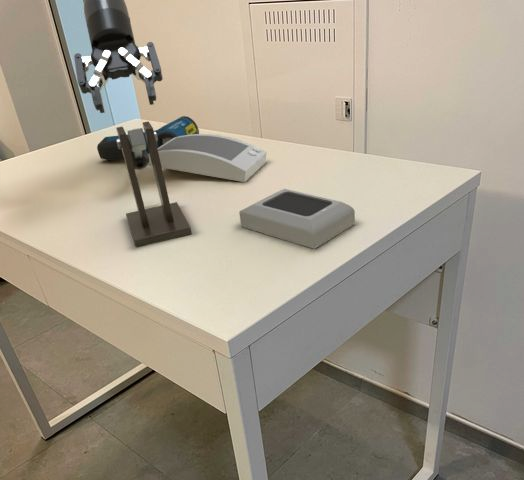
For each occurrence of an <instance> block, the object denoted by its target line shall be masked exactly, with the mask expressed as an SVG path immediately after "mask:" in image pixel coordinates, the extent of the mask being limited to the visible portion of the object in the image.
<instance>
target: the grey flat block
mask: <svg viewBox="0 0 524 480" xmlns="http://www.w3.org/2000/svg"><path fill="white" fill-rule="evenodd" d="M238 213H239V220H240V226H241V228H244V229H247V230H250V231H254V232H257V233H260V234H264V235H267V236H271V237H274V238H276V239H280V240H283V241H288V242H290V243H293V244H297V245H300V246H304V247H307V248H309V249H313V250H316V249H317V248H319V247H321V246H322V245H324V244H325V243H328V241H330V240H332V239H333V238H335V237H337V236H338V235H340V234H342V233H343V232H344V231H346V230H348V229H349V228H351V227H353V226H354V225H356V211H355V209H354V208H353V207H352V206H351V205H350V204H347V203H345V202H343V201H340V200H336V199H331V198H327V197H322V196H319V195H314V194H310V193H304V192H301V191H296V190H291V189H286V188H283V189H280V190H278V191H277V192H273V194H270V195H268V196H266V197H265V198H262V199H260V200H258V201H257V202H254V203H253V204H251V205H249V206H247V207H245V208H242V209H241V210H239V212H238Z"/></svg>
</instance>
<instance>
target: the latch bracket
mask: <svg viewBox="0 0 524 480" xmlns="http://www.w3.org/2000/svg"><path fill="white" fill-rule="evenodd" d="M142 129H143V132H145V136H146V141H147V145H148V149H149V153H150V158H151V162H152V166H151V167H152V170H153V174H154V178H155V179H154V180H155V184H156V186H157V187H156V188H157V191H158V196H159V201H160V204H161V205H158V206H157V205H156V206H153V207H148V208H145V203H144V199H143V196H142V192H141V188H140V184H139V179H138V176H137V171H136V169H135V168H134V164H133V160H132V156H131V152H130V148H129V144H128V140H127V136H126V135H127V133H126V130H125V128H124V126H118V127H116V133H117V136H118V137H119V139H116V141H117V145H118V148H119V149H121V148H122V152H123V156H124V159H123V161H124V163H125V167H126V170H127V175H128V178H129V182H130V187H131V189H132V195H133V197H134V201H135V205H136V209H137V210H135V211H130V212H126V213H125V217H126V220H127V223H128V226H129V229H130V233H131V236H132V239H133V240H132V241H133V243H134V246H135V247H136V248H138V247H142V246H146V245H150V244H156V243H159V242H163V241H167V240H171V239H176V238H181V237H185V236H188V235H189V236H190V235H192V234H193V233H192V228H191V226H190V224H189V222H188V220H187V218H186V216H185V214H184V212H183V211H182V209H181V207H180V206H179V204H178V202H177V201H175V202H170V198H169V194H168V189H167V185H166V180H165V176H164V171H163V168H162V166H161V162H160V157H159V153H158V148H157V144H156V141H158V137H157V133H156V131H155V130H154V128H153V125H152V124H151V123H150V121H148V120H147V121H143V122H142Z"/></svg>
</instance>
